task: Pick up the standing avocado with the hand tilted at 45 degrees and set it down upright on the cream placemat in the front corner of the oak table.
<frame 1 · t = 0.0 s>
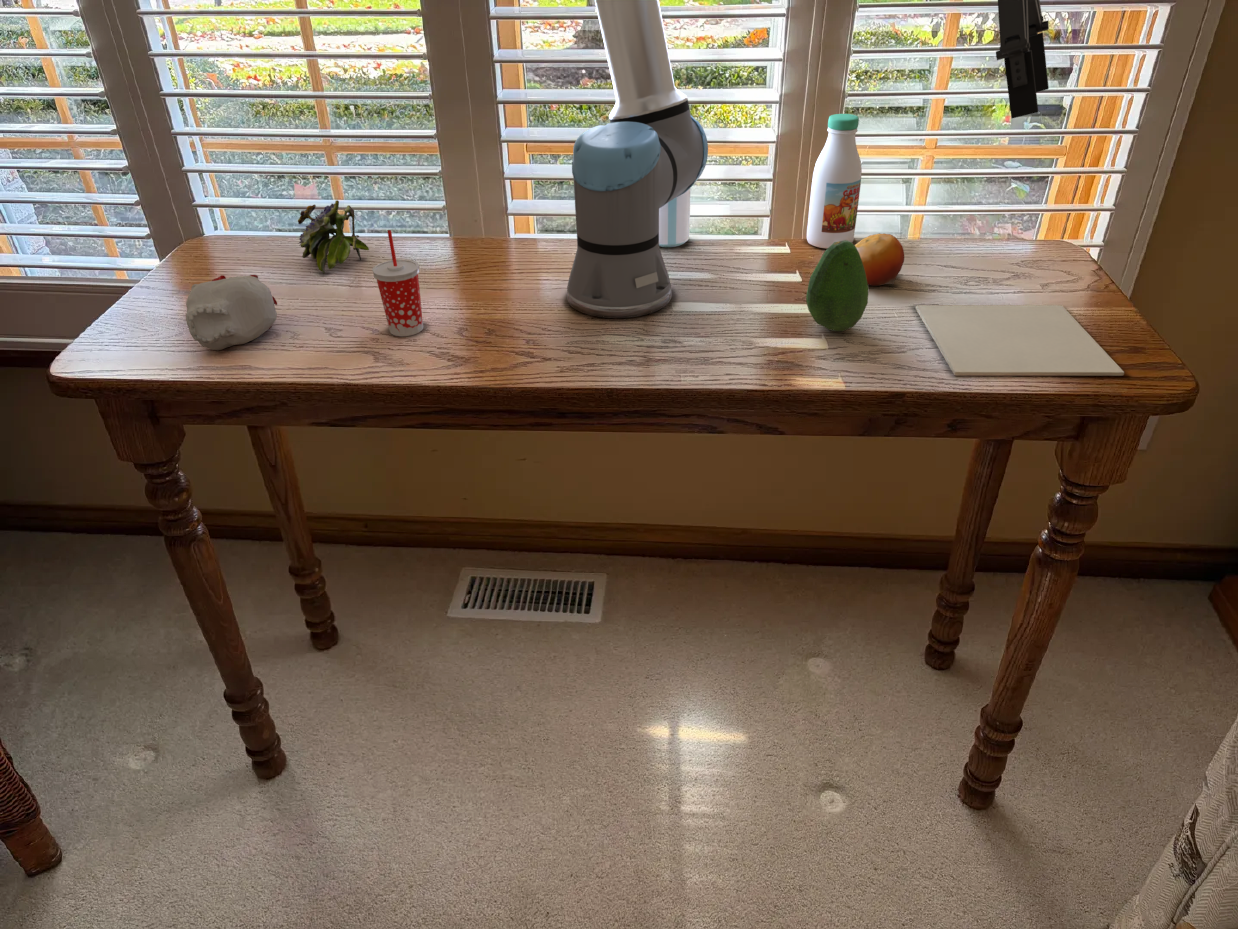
hand: (1030, 102, 102), 28 cm above the table, tool tilted 20°, fingers open, 13 cm apart
beverage cup: (406, 330, 120), on the table
passion flower: (338, 261, 143), on the table
fruit: (872, 281, 130), on the table
avocado: (832, 329, 117), on the table
can: (668, 242, 147), on the table
corner mat: (1011, 339, 113), on the table
grey rounded lump: (241, 336, 119), on the table
milk bottle: (829, 243, 144), on the table
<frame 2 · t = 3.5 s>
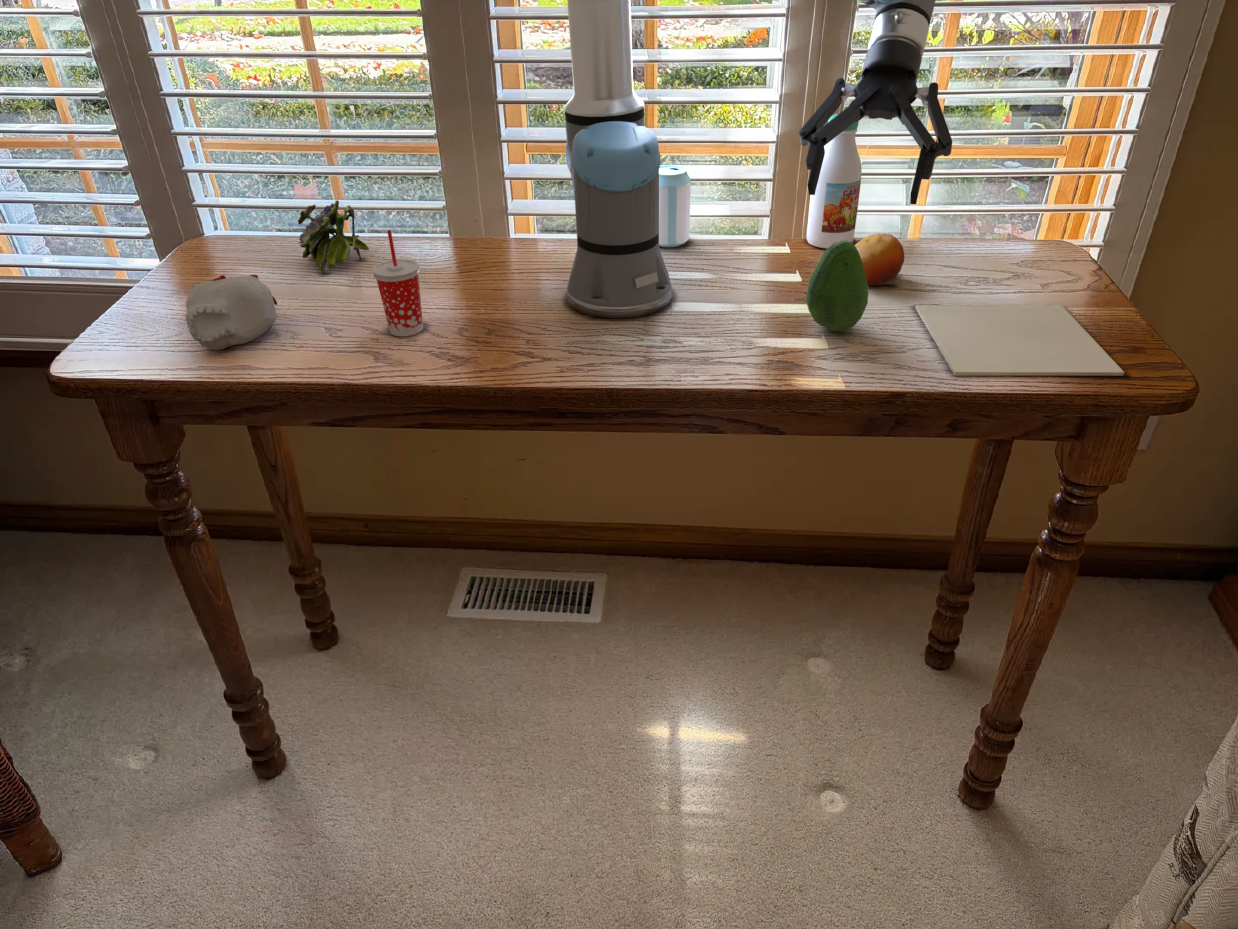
hand: (861, 194, 116), 15 cm above the table, tool tilted 45°, fingers open, 13 cm apart
nothing on the table moved.
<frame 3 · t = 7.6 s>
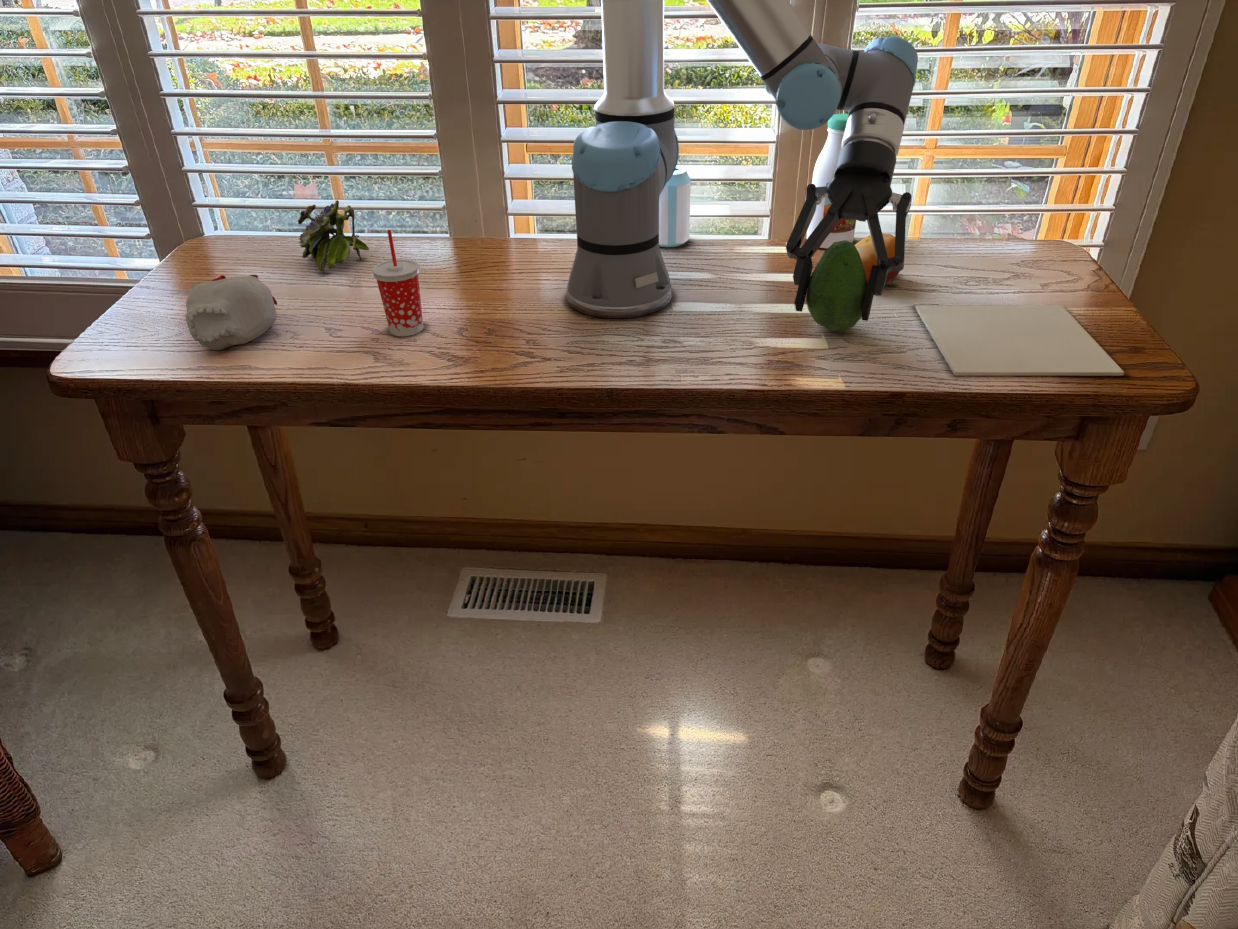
hand: (831, 311, 112), 4 cm above the table, tool tilted 45°, fingers closed on avocado, 8 cm apart
avocado: (832, 329, 117), on the table, touching gripper
everything else where it was.
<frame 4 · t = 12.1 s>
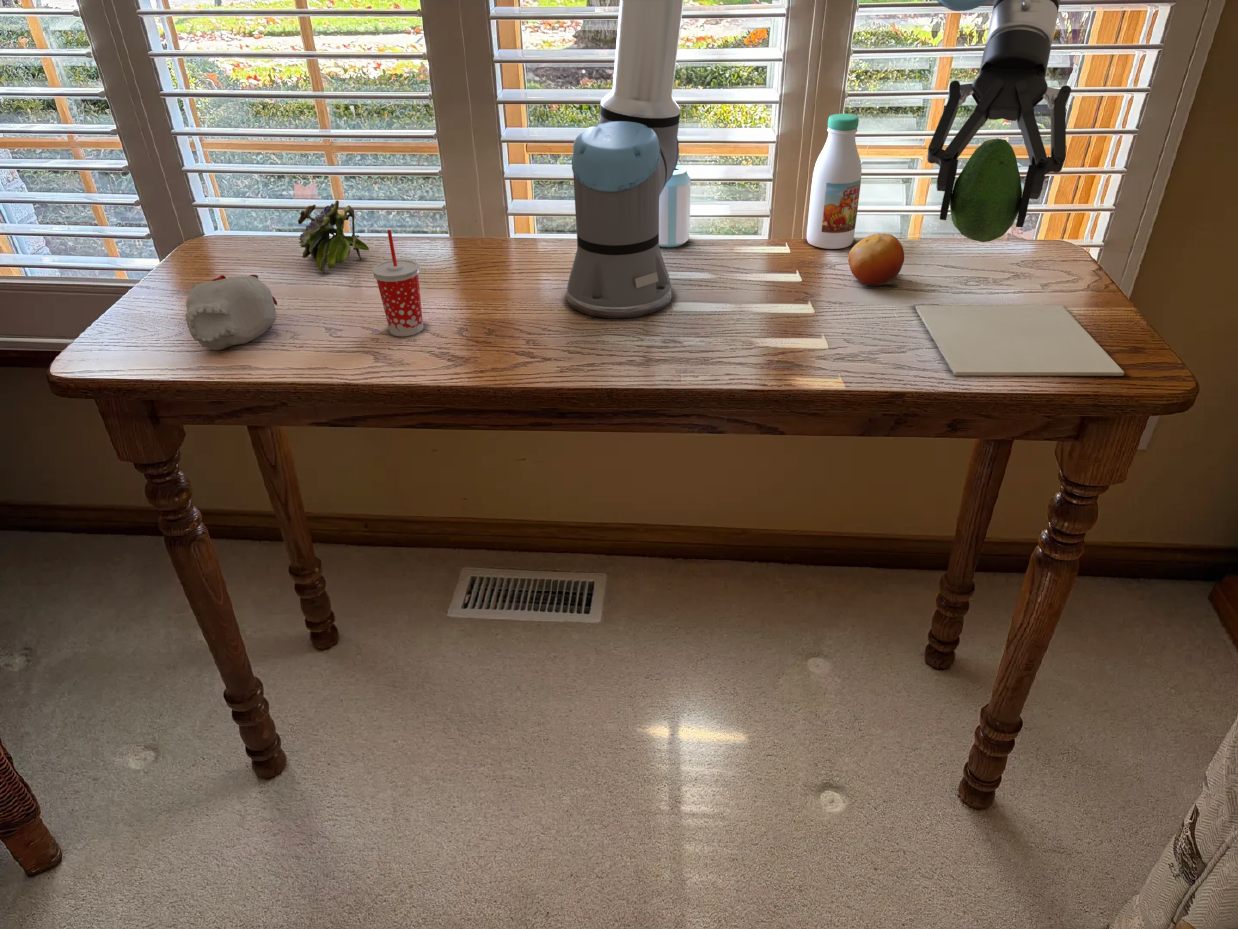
hand: (981, 217, 102), 17 cm above the table, tool tilted 45°, fingers closed on avocado, 8 cm apart
avocado: (976, 241, 107), point 13 cm above the table, touching gripper
everything else where it was.
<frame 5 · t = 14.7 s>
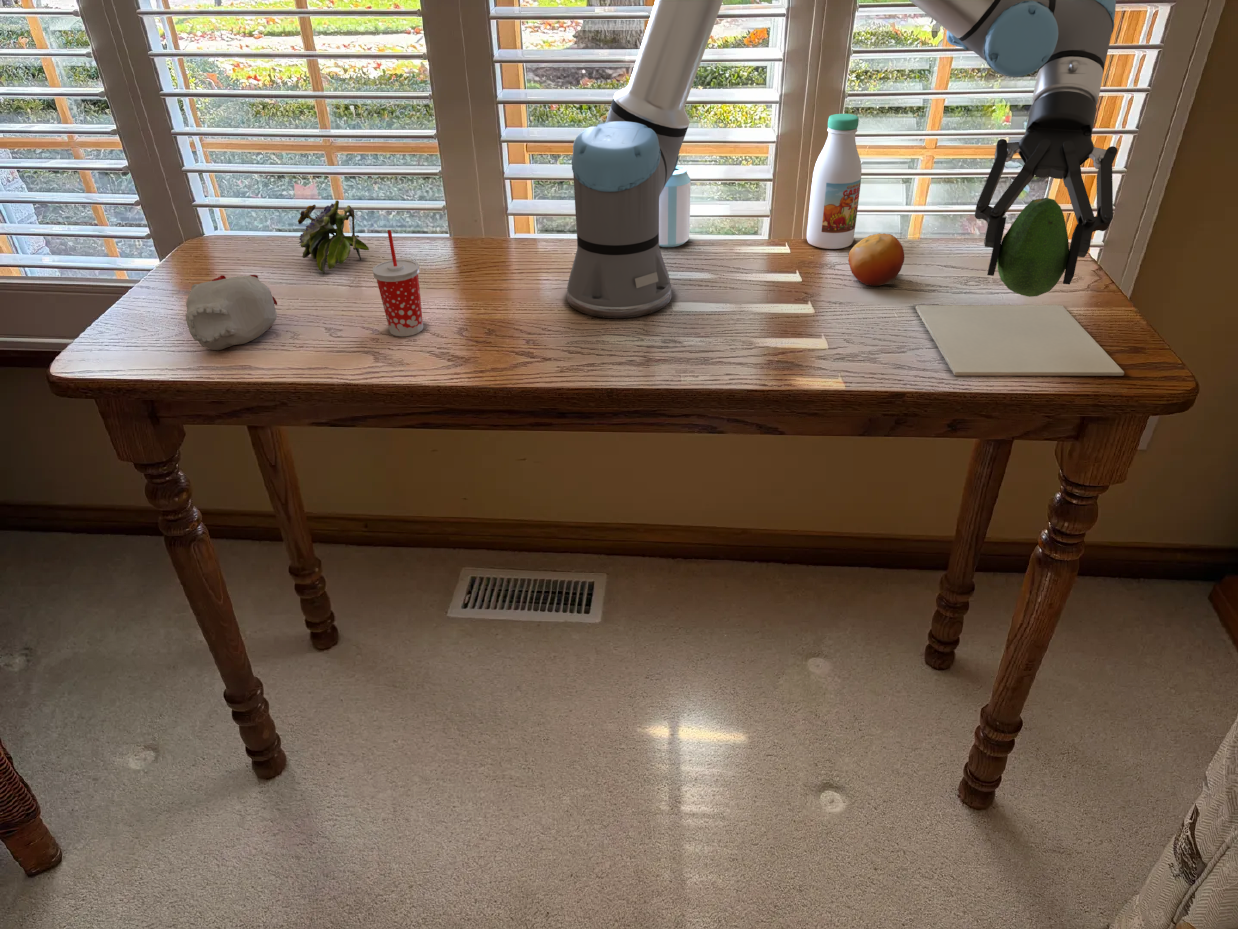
hand: (1029, 274, 105), 10 cm above the table, tool tilted 45°, fingers closed on avocado, 8 cm apart
avocado: (1022, 295, 109), point 6 cm above the table, touching gripper
everything else where it was.
when the fingers open (4 cm above the table, at t = 16.7 s): avocado stays where it is, resting on corner mat.
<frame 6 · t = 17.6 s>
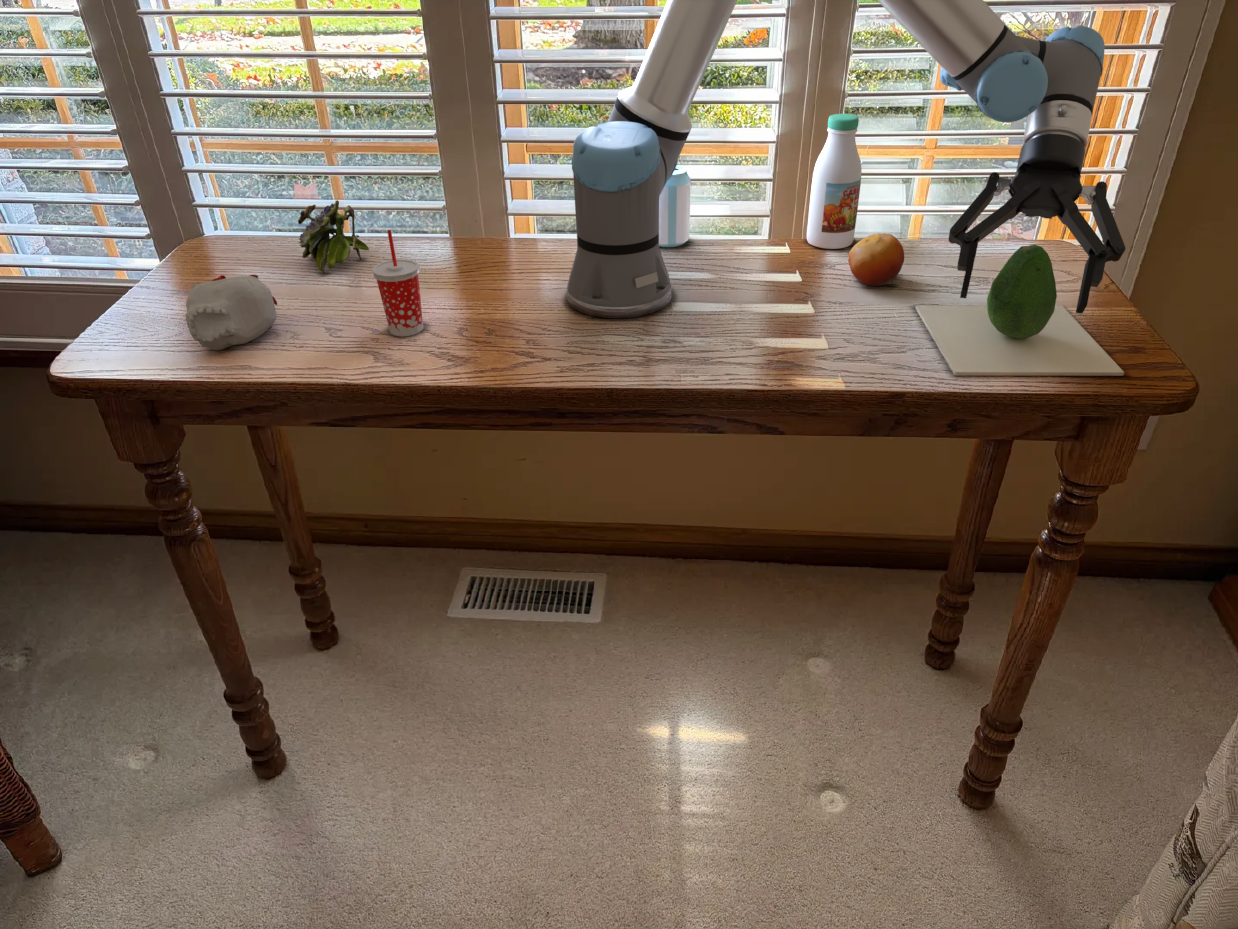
hand: (1021, 301, 108), 6 cm above the table, tool tilted 45°, fingers open, 13 cm apart
avocado: (1011, 337, 113), resting on corner mat
everything else where it was.
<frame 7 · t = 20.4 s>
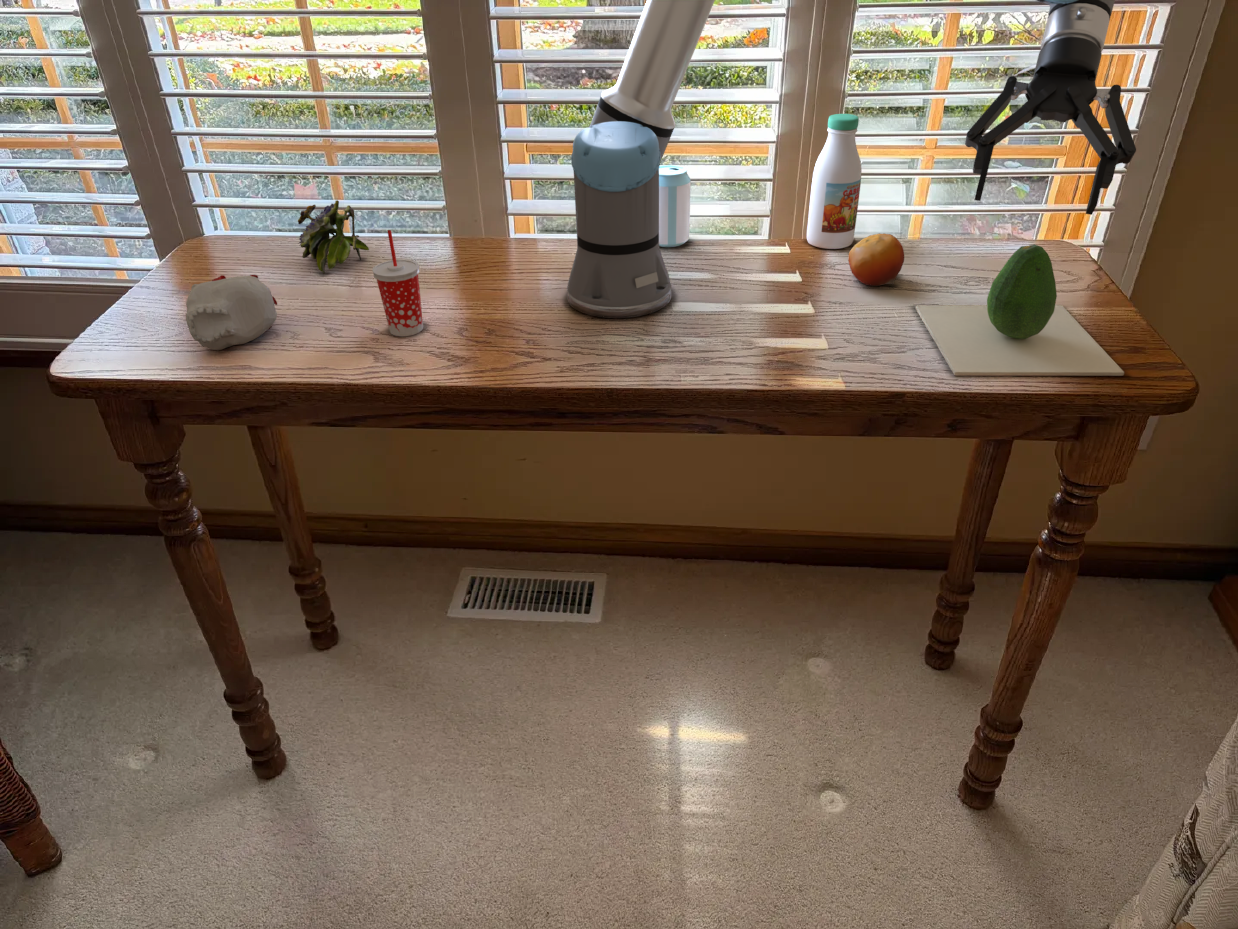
hand: (1033, 203, 112), 15 cm above the table, tool tilted 40°, fingers open, 13 cm apart
nothing on the table moved.
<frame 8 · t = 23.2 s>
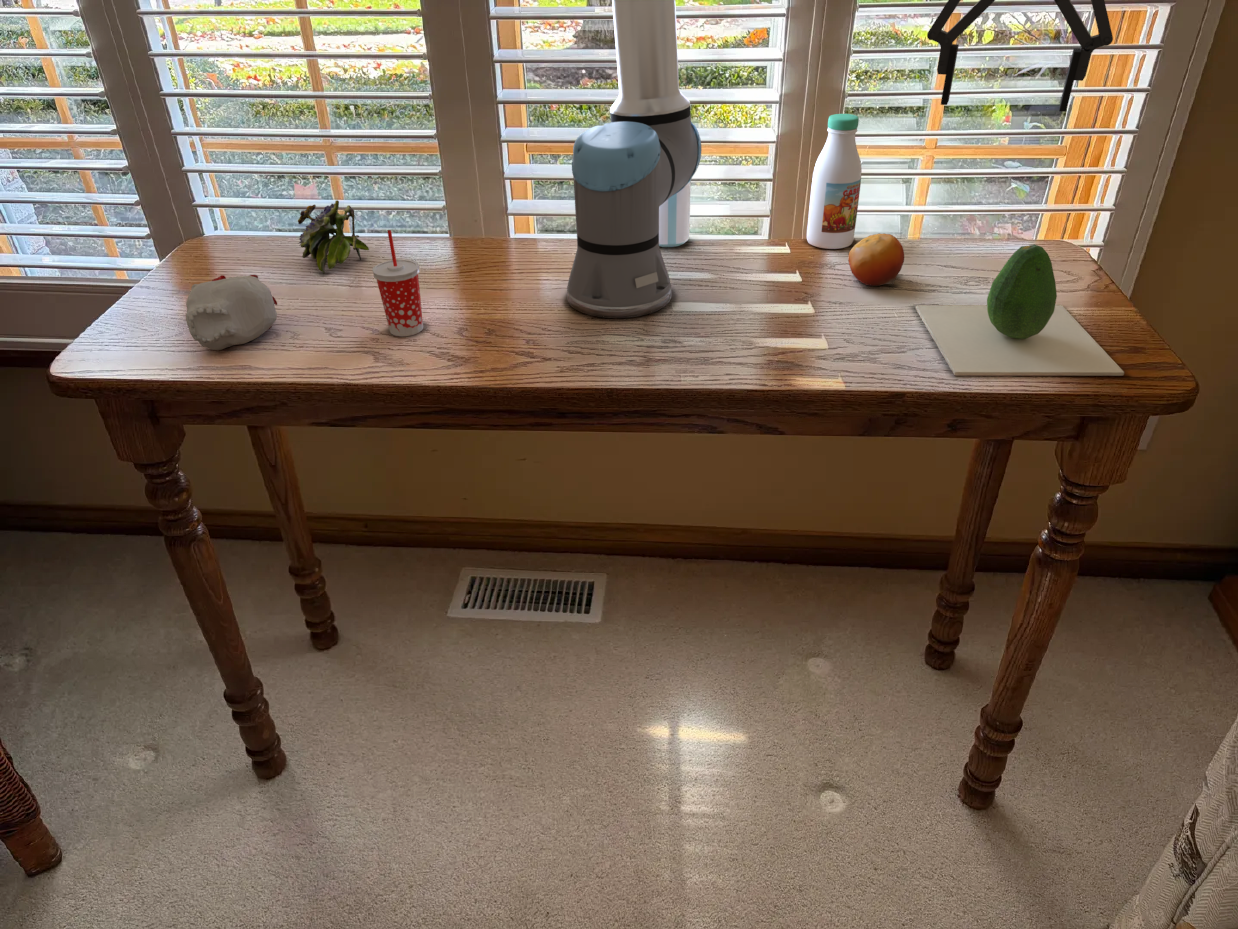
hand: (1002, 106, 107), 27 cm above the table, tool pointing down, fingers open, 13 cm apart
nothing on the table moved.
at the end: avocado inside the target area on the corner mat (0.1 cm from its centre), point 0.3 cm above the corner mat's base; avocado tilted 0°; the gripper is holding nothing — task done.
